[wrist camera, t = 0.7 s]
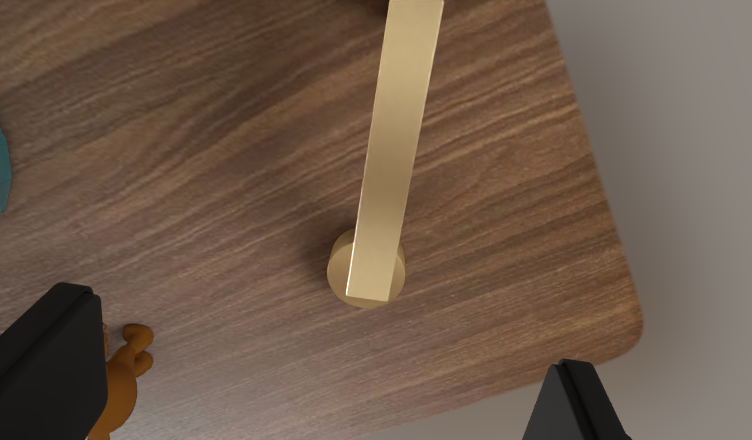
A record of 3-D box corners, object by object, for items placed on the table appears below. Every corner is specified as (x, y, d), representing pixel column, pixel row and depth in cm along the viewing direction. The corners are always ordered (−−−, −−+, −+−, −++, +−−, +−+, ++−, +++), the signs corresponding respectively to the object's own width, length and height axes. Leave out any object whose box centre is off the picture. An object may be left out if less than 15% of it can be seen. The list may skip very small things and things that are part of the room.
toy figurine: (107, 262, 33) (40, 329, 27) (168, 273, 33) (115, 341, 27) (111, 409, 38) (55, 493, 32) (164, 417, 38) (118, 503, 32)
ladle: (366, -21, 26) (351, -17, 18) (457, -6, 26) (484, 5, 18) (327, 284, 33) (303, 387, 25) (398, 295, 33) (397, 400, 25)
